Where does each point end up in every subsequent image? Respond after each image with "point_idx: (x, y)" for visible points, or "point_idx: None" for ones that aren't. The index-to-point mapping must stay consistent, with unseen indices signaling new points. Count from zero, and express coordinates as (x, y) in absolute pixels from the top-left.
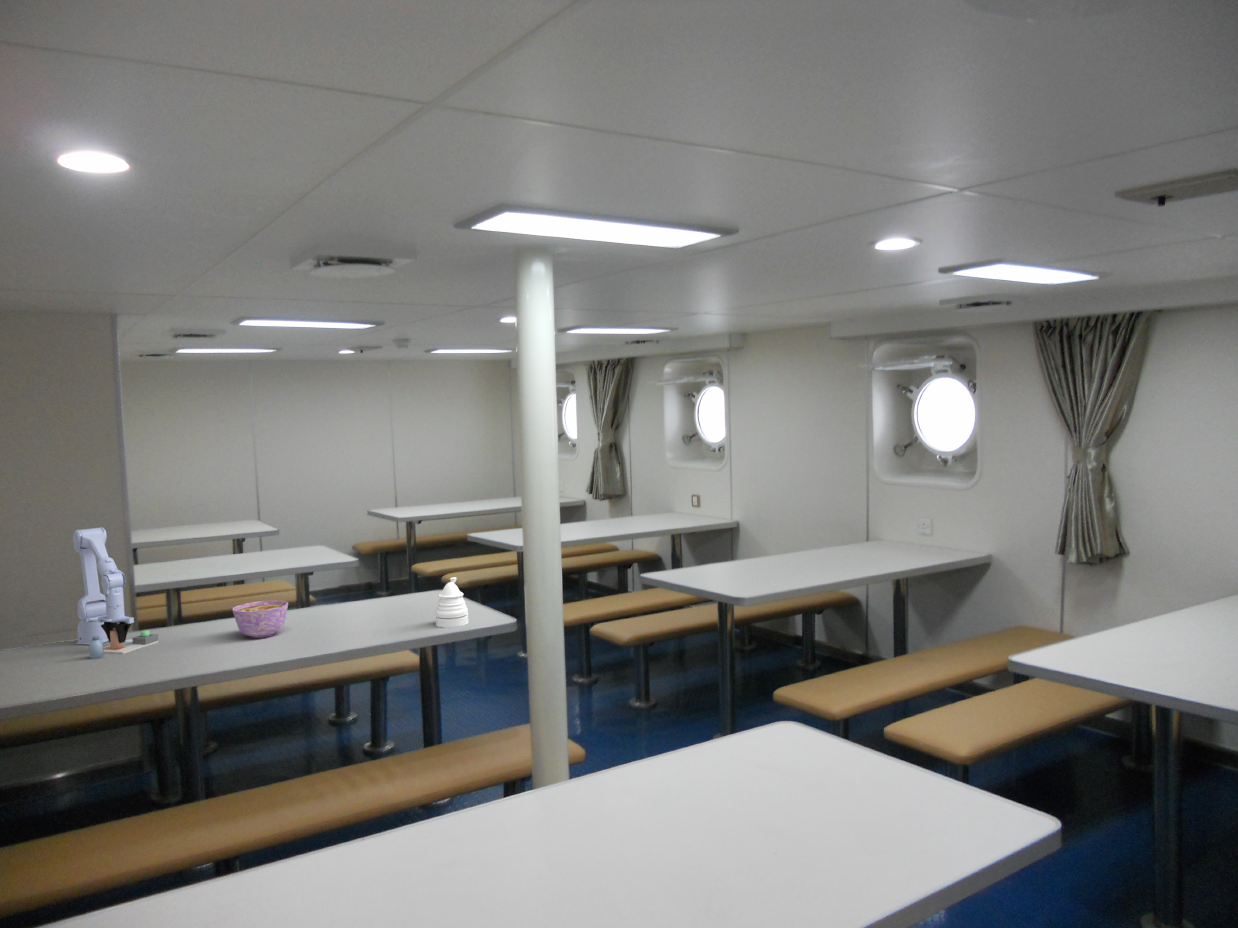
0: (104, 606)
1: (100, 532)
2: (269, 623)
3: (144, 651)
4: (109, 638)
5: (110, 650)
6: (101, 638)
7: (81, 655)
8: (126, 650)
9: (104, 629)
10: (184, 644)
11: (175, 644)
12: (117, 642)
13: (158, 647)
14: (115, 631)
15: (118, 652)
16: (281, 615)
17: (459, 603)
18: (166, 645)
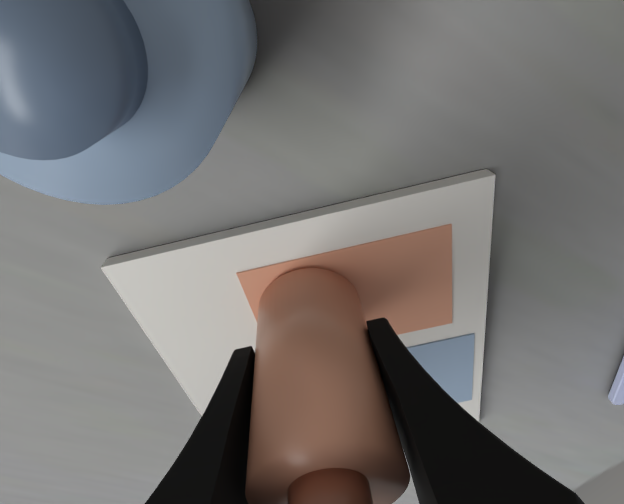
0: None
1: None
2: None
3: (28, 354)
4: (378, 350)
5: (295, 246)
6: (96, 196)
7: (498, 14)
8: (141, 302)
9: (479, 449)
10: (26, 497)
11: (77, 482)
12: (257, 340)
13: (83, 428)
14: (256, 467)
15: (161, 248)
16: None
17: None
18: (99, 459)
